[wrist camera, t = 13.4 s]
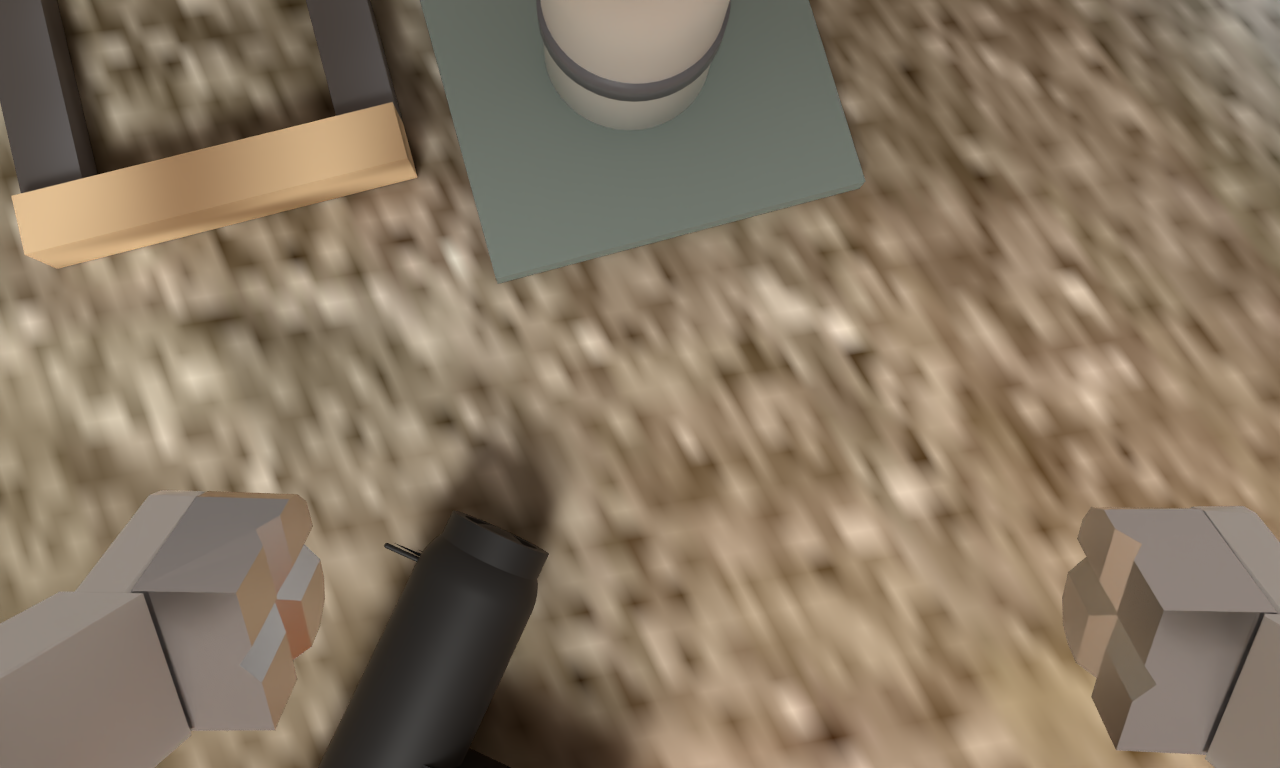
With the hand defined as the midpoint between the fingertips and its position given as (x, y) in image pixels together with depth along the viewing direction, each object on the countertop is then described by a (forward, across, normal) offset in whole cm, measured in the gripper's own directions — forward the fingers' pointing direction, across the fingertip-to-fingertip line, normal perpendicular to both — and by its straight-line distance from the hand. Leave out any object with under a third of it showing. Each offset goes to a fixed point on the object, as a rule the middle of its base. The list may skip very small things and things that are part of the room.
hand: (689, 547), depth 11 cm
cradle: (+18, +13, -1) cm, 22 cm away
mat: (+19, +2, -1) cm, 19 cm away
